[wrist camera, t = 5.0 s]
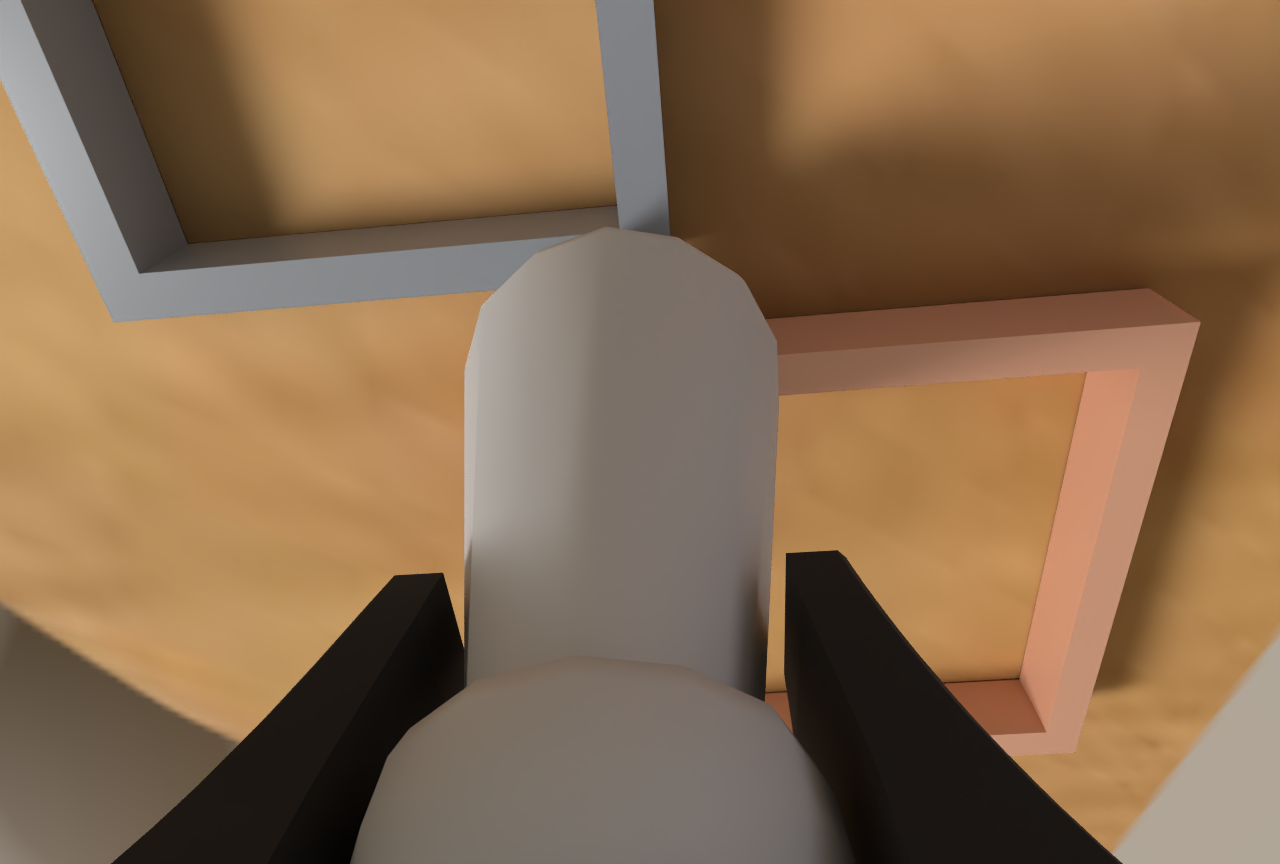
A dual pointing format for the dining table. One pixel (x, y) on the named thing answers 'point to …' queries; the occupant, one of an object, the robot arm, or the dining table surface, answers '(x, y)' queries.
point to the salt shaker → (613, 584)
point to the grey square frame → (301, 263)
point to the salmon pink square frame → (1095, 473)
